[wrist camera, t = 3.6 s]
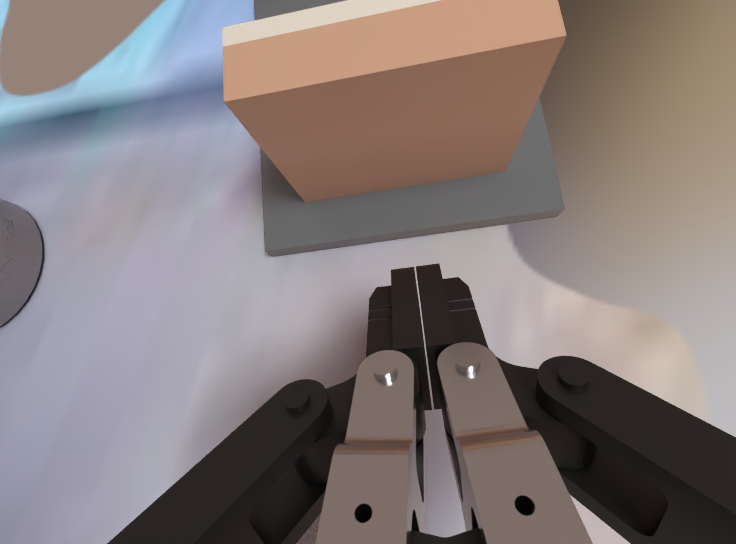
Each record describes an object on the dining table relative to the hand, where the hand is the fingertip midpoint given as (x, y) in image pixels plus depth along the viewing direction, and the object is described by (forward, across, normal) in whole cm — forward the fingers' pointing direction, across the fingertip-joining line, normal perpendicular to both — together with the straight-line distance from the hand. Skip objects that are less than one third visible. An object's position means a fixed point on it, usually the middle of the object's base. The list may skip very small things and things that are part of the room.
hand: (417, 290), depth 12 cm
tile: (+11, 0, -1) cm, 11 cm away
